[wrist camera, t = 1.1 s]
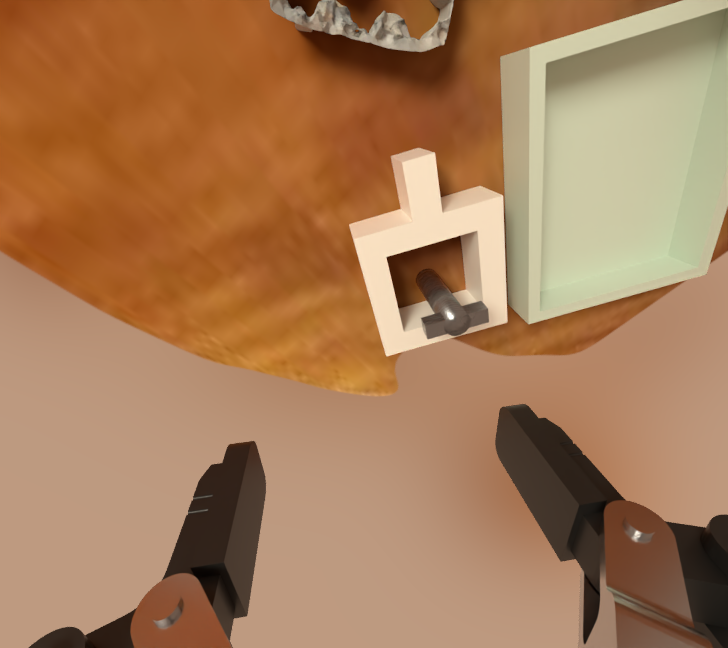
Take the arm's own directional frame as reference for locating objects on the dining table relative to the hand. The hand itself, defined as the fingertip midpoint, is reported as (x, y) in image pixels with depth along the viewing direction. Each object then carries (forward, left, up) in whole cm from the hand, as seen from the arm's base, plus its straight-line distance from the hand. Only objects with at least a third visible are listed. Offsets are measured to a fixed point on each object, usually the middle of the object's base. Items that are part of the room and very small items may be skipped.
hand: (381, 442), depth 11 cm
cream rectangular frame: (+2, +7, -21) cm, 22 cm away
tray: (+1, +22, -21) cm, 30 cm away
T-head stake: (+5, +7, -21) cm, 22 cm away
